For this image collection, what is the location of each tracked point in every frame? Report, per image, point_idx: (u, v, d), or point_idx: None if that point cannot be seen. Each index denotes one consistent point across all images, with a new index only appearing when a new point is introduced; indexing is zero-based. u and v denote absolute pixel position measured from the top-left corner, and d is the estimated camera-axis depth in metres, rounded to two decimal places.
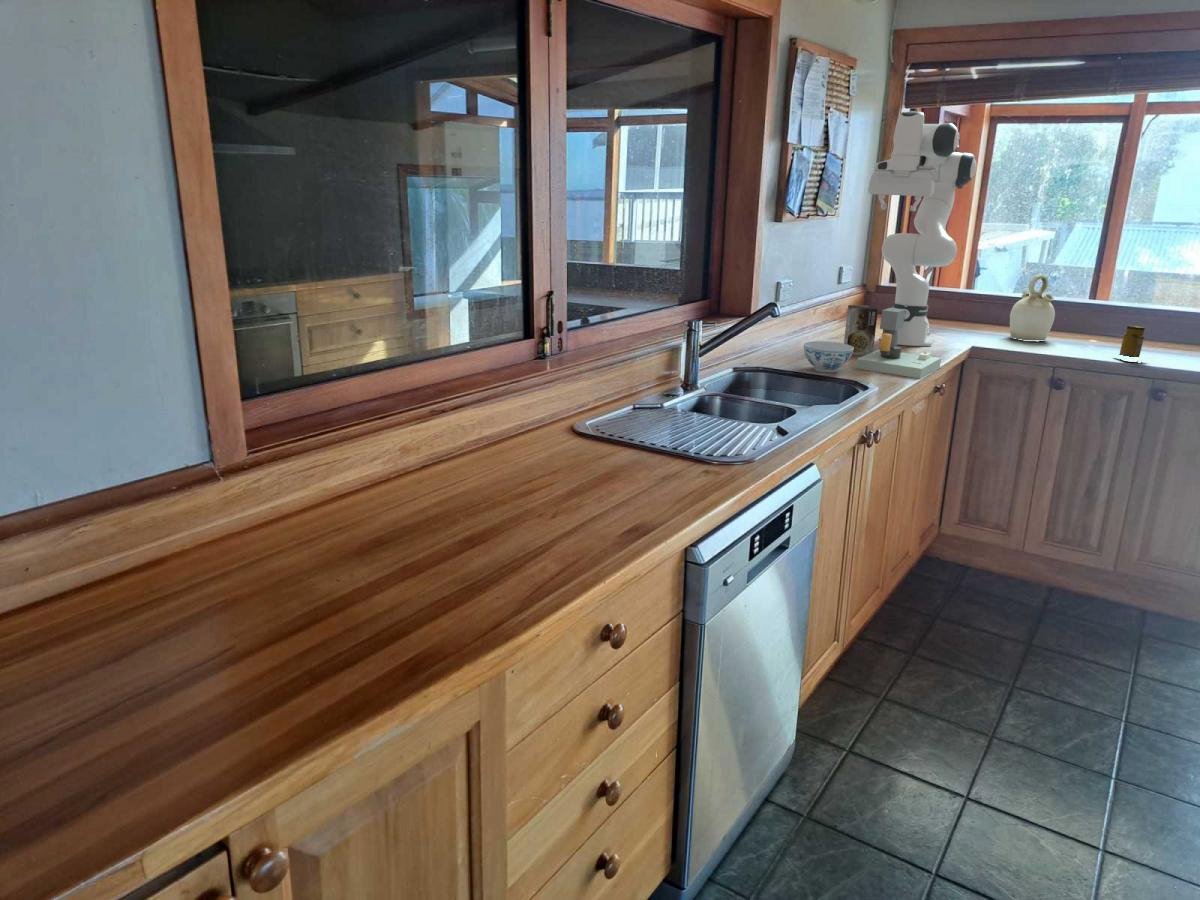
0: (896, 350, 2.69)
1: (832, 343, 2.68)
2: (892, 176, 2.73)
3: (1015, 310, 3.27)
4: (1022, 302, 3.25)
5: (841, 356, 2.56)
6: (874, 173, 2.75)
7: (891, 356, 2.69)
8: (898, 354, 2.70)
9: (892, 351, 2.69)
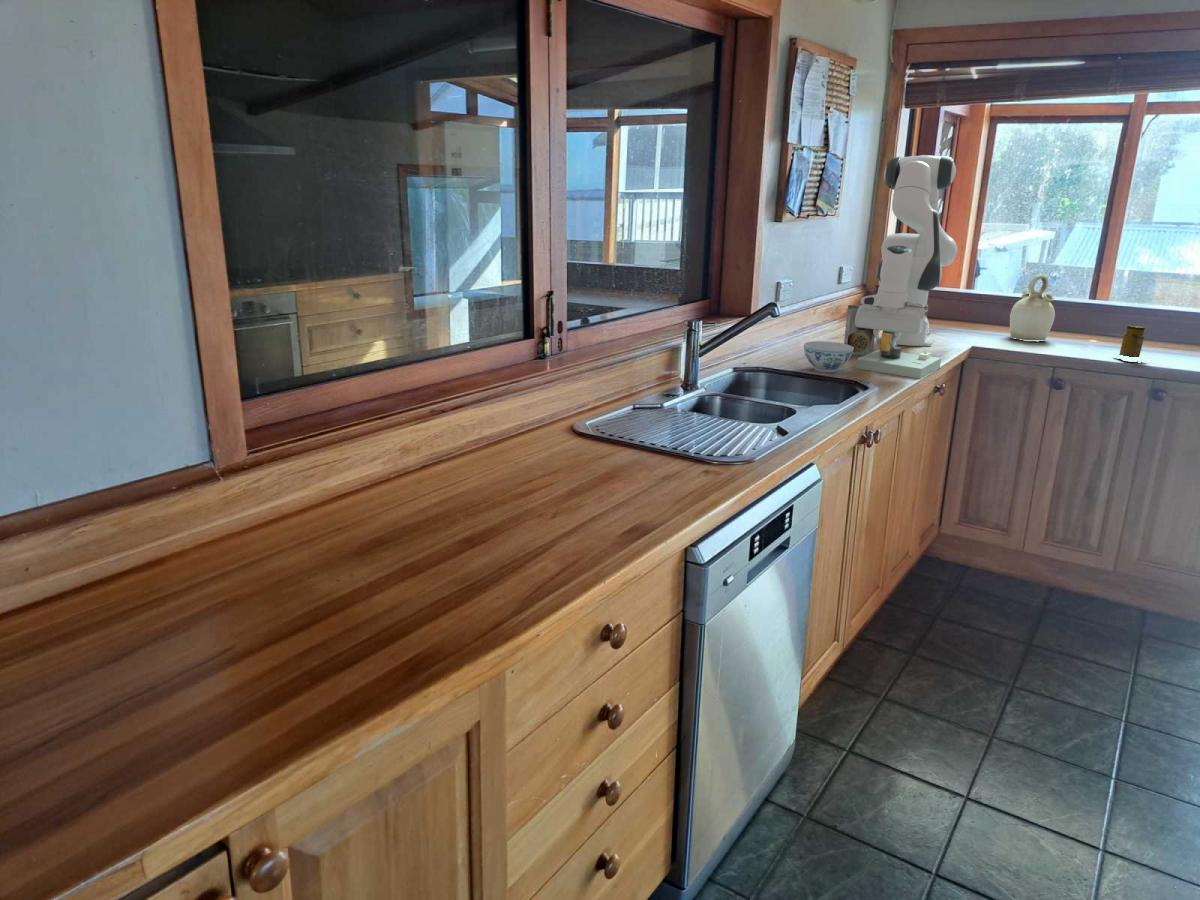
0: (896, 350, 2.69)
1: (832, 343, 2.68)
2: (879, 311, 2.62)
3: (1015, 310, 3.27)
4: (1022, 302, 3.25)
5: (841, 356, 2.56)
6: (860, 307, 2.65)
7: (891, 356, 2.69)
8: (898, 354, 2.70)
9: (892, 351, 2.69)
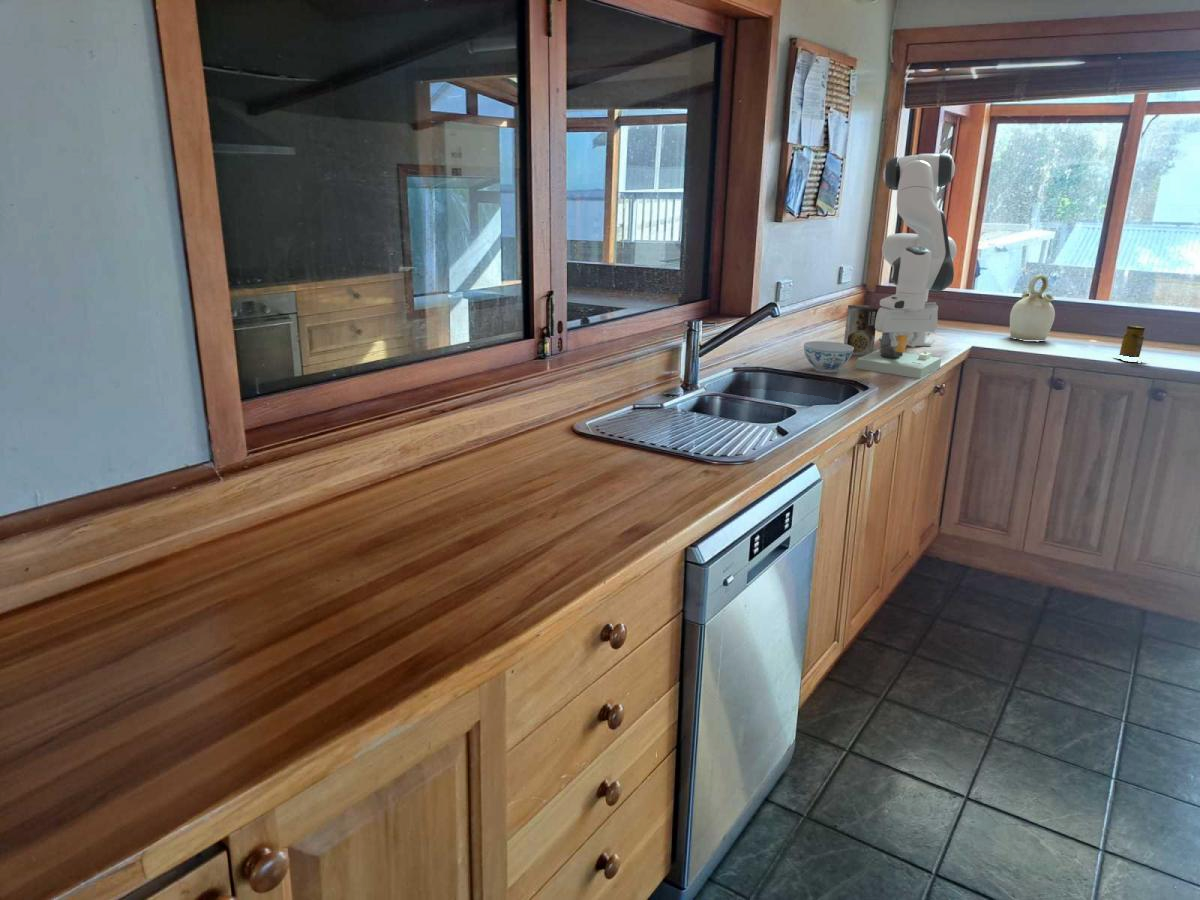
0: None
1: (832, 343, 2.68)
2: (903, 314, 2.59)
3: (1015, 310, 3.27)
4: (1022, 302, 3.25)
5: (841, 356, 2.56)
6: (889, 312, 2.57)
7: (897, 356, 2.70)
8: None
9: None
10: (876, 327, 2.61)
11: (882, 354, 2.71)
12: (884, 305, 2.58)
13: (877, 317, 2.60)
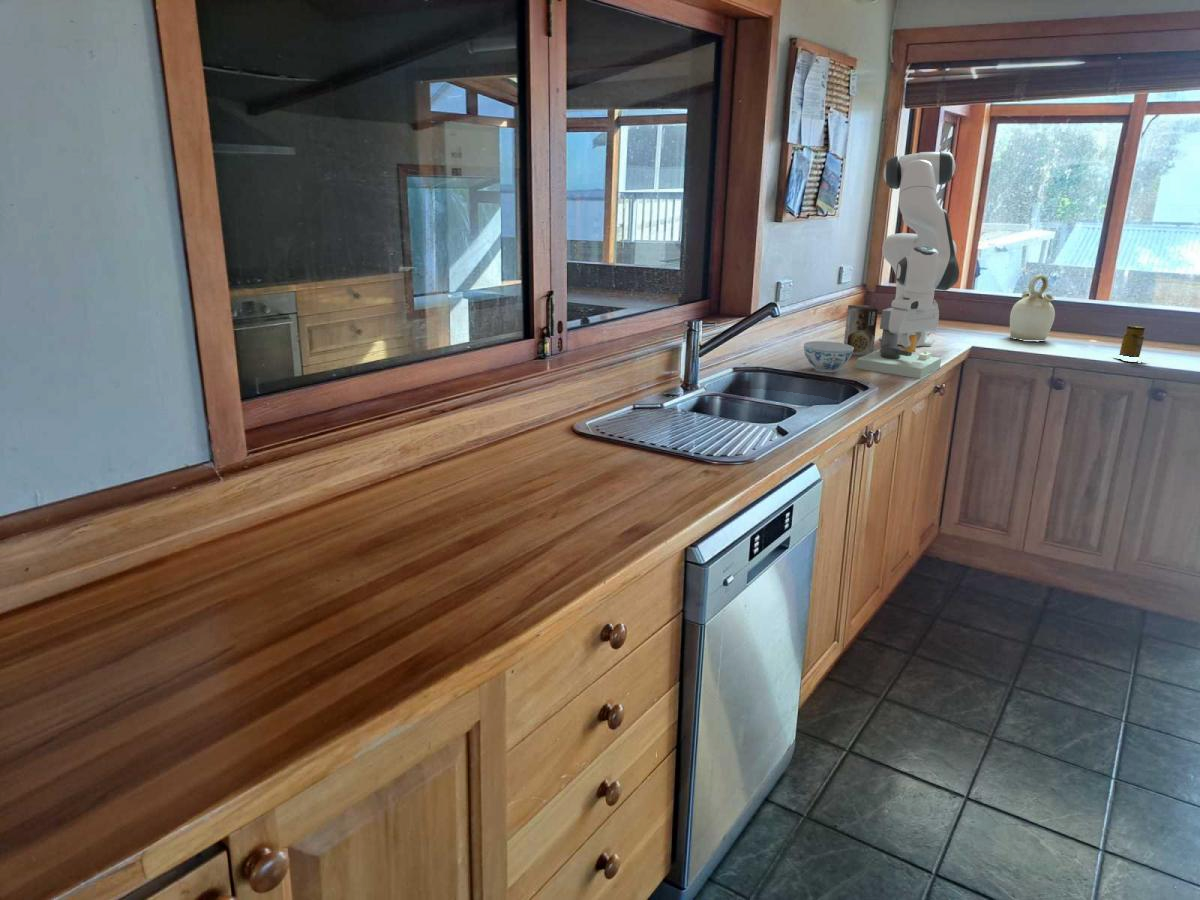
0: None
1: (832, 343, 2.68)
2: (915, 314, 2.59)
3: (1015, 310, 3.27)
4: (1022, 302, 3.25)
5: (841, 356, 2.56)
6: (905, 313, 2.55)
7: None
8: None
9: None
10: (891, 329, 2.59)
11: (886, 355, 2.70)
12: (899, 306, 2.57)
13: (891, 318, 2.58)
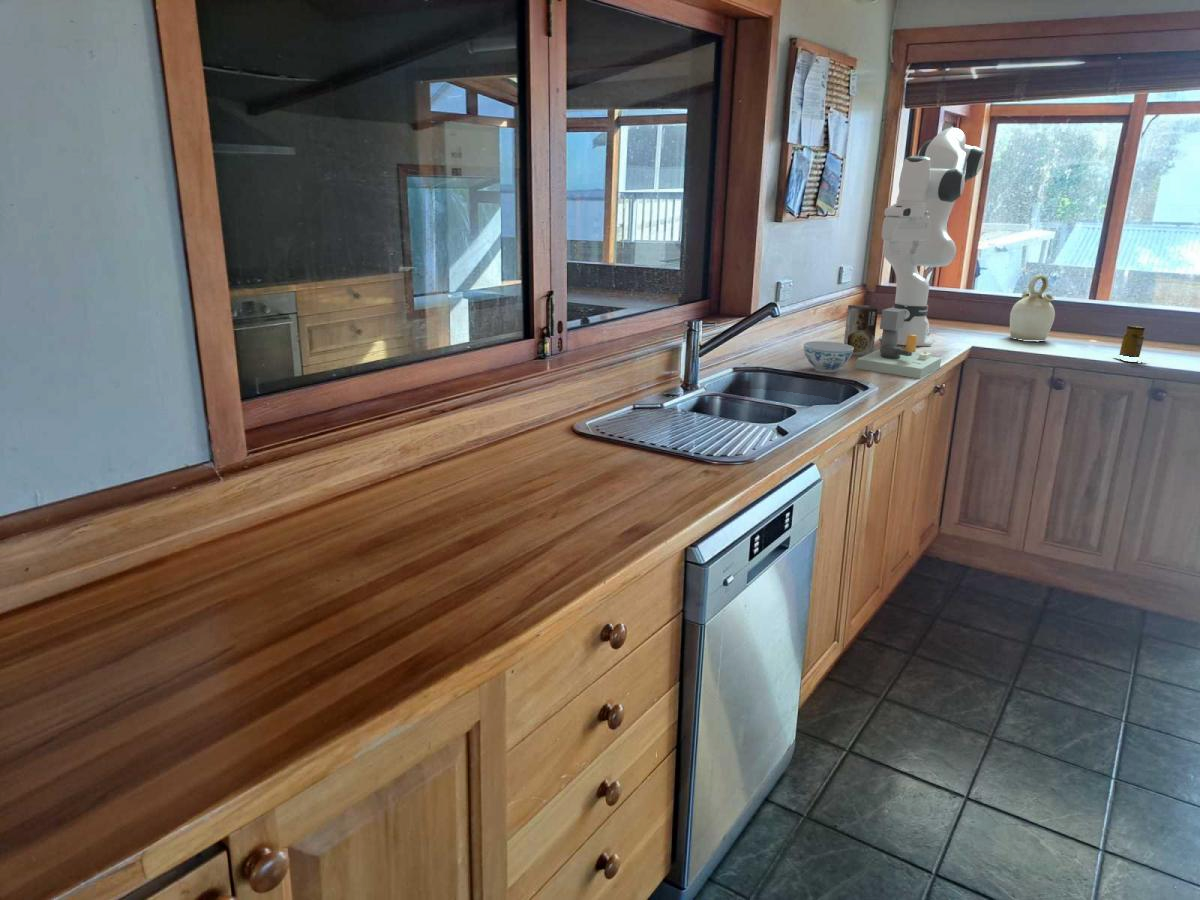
0: None
1: (832, 343, 2.68)
2: (907, 222, 2.65)
3: (1015, 310, 3.27)
4: (1022, 302, 3.25)
5: (841, 356, 2.56)
6: (898, 220, 2.61)
7: None
8: None
9: None
10: (884, 236, 2.64)
11: (886, 355, 2.70)
12: (891, 214, 2.63)
13: (884, 226, 2.64)
